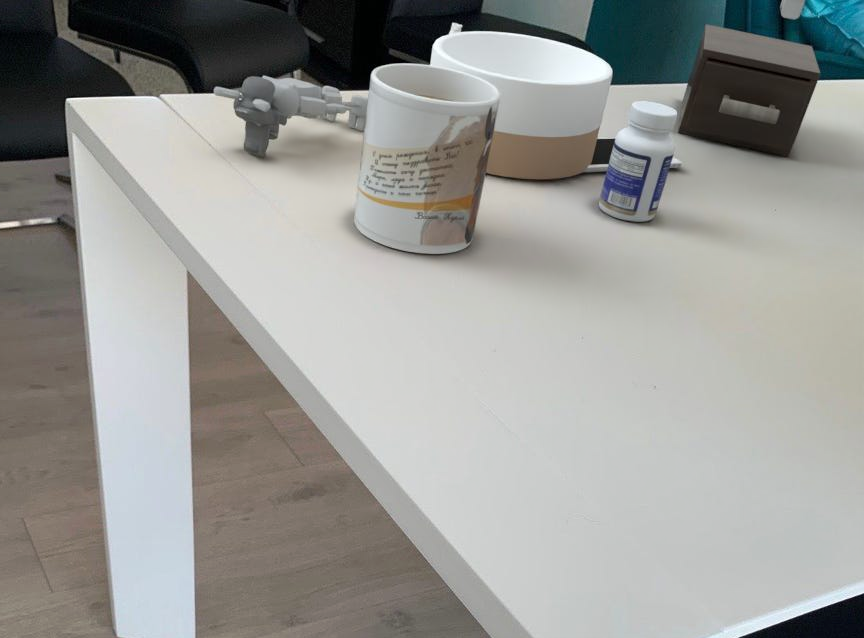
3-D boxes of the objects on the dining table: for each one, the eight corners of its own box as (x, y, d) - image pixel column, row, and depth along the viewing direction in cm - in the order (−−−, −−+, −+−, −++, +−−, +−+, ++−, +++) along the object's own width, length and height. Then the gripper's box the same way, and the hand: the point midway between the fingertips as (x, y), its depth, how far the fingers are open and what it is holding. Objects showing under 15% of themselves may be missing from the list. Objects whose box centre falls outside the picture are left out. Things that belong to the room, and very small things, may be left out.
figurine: (307, 142, 104) (200, 145, 90) (319, 74, 101) (210, 65, 86) (370, 163, 102) (270, 169, 88) (383, 94, 99) (283, 89, 84)
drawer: (788, 162, 110) (815, 93, 106) (684, 139, 111) (705, 70, 107) (782, 120, 123) (805, 58, 119) (688, 100, 124) (707, 37, 120)
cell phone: (682, 168, 105) (684, 162, 105) (557, 174, 98) (558, 168, 98) (634, 142, 110) (636, 136, 110) (512, 146, 103) (514, 140, 103)
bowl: (579, 193, 95) (602, 96, 89) (401, 156, 97) (412, 59, 91) (601, 141, 107) (622, 52, 102) (443, 108, 110) (455, 20, 104)
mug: (323, 212, 83) (338, 63, 76) (431, 194, 90) (454, 55, 83) (407, 263, 78) (431, 107, 71) (515, 240, 85) (548, 96, 77)
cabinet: (788, 157, 115) (820, 73, 109) (677, 132, 116) (703, 48, 110) (783, 123, 126) (812, 46, 120) (682, 101, 127) (705, 24, 121)
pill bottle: (634, 200, 96) (664, 99, 90) (665, 223, 93) (698, 118, 87) (586, 201, 94) (613, 97, 89) (615, 223, 91) (646, 117, 85)
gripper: (804, -171, 99) (753, -7, 108) (819, -162, 84) (758, 28, 93) (870, -160, 98) (813, 4, 107) (897, -149, 83) (828, 42, 92)
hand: (788, 16), depth 100 cm, fingers closed
